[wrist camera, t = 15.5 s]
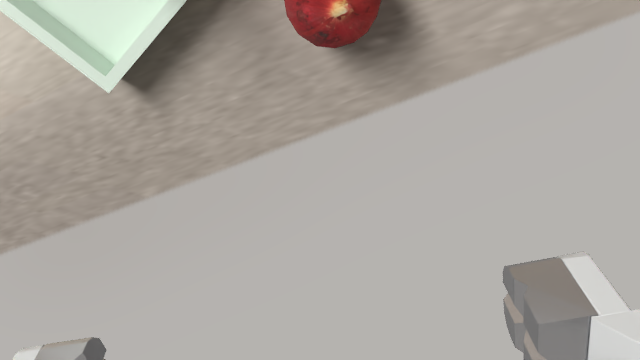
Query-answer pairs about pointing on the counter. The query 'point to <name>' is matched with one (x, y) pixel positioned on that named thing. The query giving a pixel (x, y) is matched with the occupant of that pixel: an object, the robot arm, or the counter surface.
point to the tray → (94, 31)
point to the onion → (332, 20)
